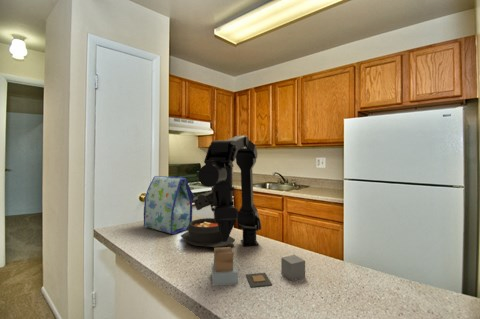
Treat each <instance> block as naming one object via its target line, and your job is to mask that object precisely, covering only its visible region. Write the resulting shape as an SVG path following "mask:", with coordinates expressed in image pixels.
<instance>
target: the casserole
mask: <svg viewBox="0 0 480 319" xmlns="http://www.w3.org/2000/svg"><path fill="white" fill-rule="evenodd" d="M180 237H181V238H182V239H183V240H184V241H185V242H186V243H187V244H188V245H193V246H197V247H203V248H204V247H205V248H207V247H210V248H221V247H226V246H227V247H228V246H229V245H232V244H233V243H235V240H236V239H235V238H234V237H232V236H230V235H229V237H228V240H227V242H223V240H222V235H221V232H220V231H219V227H218V222H217V221H215V219H214V217H212V218H211V217H208V218H206V217H205V218H199V219H194V220H192V221H191V222H190V223H189V226H188V227H187V230H186V232H184V233H182V234H181V235H180Z"/></svg>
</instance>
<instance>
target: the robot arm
mask: <svg viewBox="0 0 480 319" xmlns="http://www.w3.org/2000/svg"><path fill="white" fill-rule="evenodd" d="M257 159H258V150H257V146H256V144H255V143H254V142H252V141H251V140H250V139H249V135H248V136H247V135H235V136H233V137H232V138H229V139H227V140H226V139H225V140H212V141H211V142H210V144H209V145H208V149H207V152H206V154H205V157H204V160H203V162H204V163H203V164H204V165H203V166H201V167H200V169H199V170H198V173H197V177H198V181H199V183H200V184H201V185H202V186H204V187H207V188H211V190H210V191H208V192H204V193H201V194H198V195H197V196H194V197H195V198H193V200H192V202H193V204H194V205H195V209H196V211H201V210H202V209H203V208H207V207H208V206H210V210H211V211H212V212H213V218H214V219H215V221H217V222H218V227H219V231H220V232H221V235H222V240H223V242H227V240H228V237H229V236H230V235H231V232H232V230H233V228H234V226H235V224H236V221H237V229H238V230H242V239H240V243H241V244H242V246H243V247H252V246H259V245H260V243H259V242H258V240H257V232H258V231H260V230H262V224H261V223H262V222H261V218H260V215H259V214H258V213H259V212H258V209H257V207H256V206H255V204H254V186H253V185H254V183H253V181H254V180H253V168H254V166H255V165H256V163H257ZM234 162H236V165H237V167H238V168H239V169H240V185H241V207H240V208H239V210H238V209H237V207H235V205H234V204H235V203H234V202H235V201H234V200H233V199H234V198H233V192H234V191H235V190H234V189H235V188H234V186H233V176H234V175H233V172H234V171H233V168H234Z"/></svg>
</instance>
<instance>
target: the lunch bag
mask: <svg viewBox="0 0 480 319" xmlns="http://www.w3.org/2000/svg"><path fill="white" fill-rule="evenodd" d="M195 197H196V196H195V195H194V193H193V192H192V190H191V187H190V185H189V181H188V179H187V178H186V177H182V176H162V175H154V176H153V178H152V180H151V181H150V183H149V185H148V188H147V191H146V193H145V199H144V206H143V227H145V228H148V229H152V230H156V231H160V232H163V233H167V234H171V235H174V234H177V233H180V232H181V231H188V230H187V227H188V226H189V223H190V222H191V221H193V198H195Z"/></svg>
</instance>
